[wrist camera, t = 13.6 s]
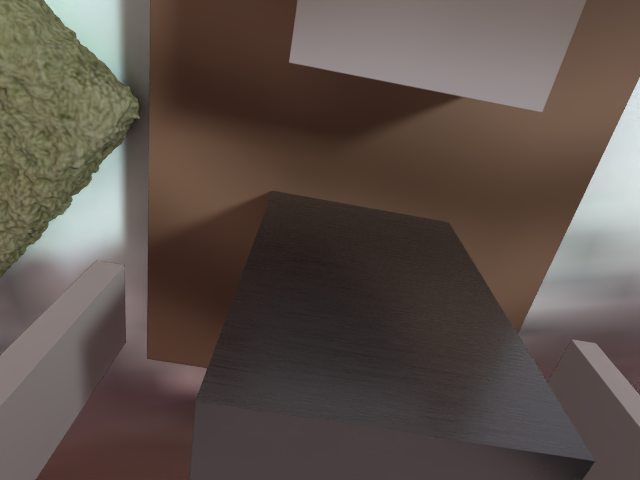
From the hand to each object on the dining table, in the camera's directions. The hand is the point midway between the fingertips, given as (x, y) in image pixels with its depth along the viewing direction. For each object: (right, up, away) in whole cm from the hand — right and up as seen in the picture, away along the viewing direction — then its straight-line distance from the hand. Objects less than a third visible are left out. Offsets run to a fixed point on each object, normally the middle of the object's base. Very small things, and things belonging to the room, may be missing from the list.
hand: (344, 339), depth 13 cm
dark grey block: (0, +1, +3) cm, 3 cm away
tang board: (+1, +6, +2) cm, 7 cm away
